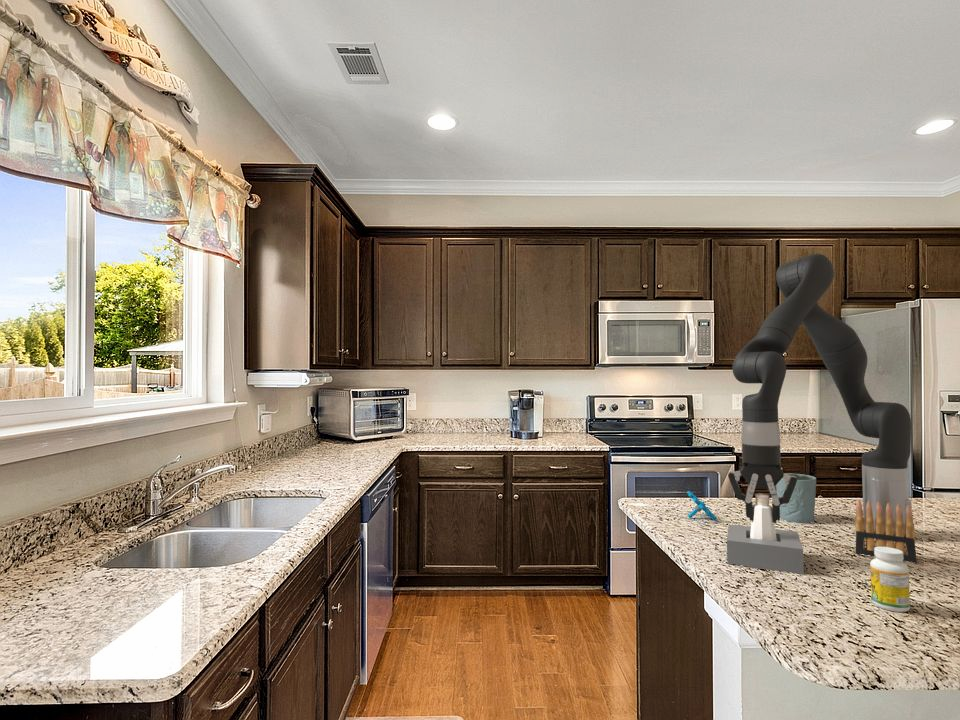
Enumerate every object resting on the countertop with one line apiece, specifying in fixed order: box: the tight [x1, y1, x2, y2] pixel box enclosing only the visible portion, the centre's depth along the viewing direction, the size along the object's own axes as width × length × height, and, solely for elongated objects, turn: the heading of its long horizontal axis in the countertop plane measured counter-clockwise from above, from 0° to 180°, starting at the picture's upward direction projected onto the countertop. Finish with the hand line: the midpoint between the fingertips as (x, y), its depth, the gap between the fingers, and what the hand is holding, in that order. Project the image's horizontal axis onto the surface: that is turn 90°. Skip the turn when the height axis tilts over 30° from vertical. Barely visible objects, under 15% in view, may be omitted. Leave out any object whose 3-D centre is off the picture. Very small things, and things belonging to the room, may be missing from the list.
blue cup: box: [775, 472, 817, 524], centre depth 150 cm, size 10×10×12 cm
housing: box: [726, 523, 805, 575], centre depth 117 cm, size 14×14×5 cm
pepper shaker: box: [750, 492, 777, 541], centre depth 118 cm, size 5×5×11 cm
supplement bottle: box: [869, 547, 911, 613], centre depth 93 cm, size 5×5×10 cm
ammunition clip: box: [854, 499, 918, 564], centre depth 119 cm, size 11×2×12 cm, turn 55°
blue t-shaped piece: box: [686, 490, 718, 521], centre depth 152 cm, size 11×6×10 cm
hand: (762, 520), depth 118 cm, fingers closed on pepper shaker, 4 cm apart
